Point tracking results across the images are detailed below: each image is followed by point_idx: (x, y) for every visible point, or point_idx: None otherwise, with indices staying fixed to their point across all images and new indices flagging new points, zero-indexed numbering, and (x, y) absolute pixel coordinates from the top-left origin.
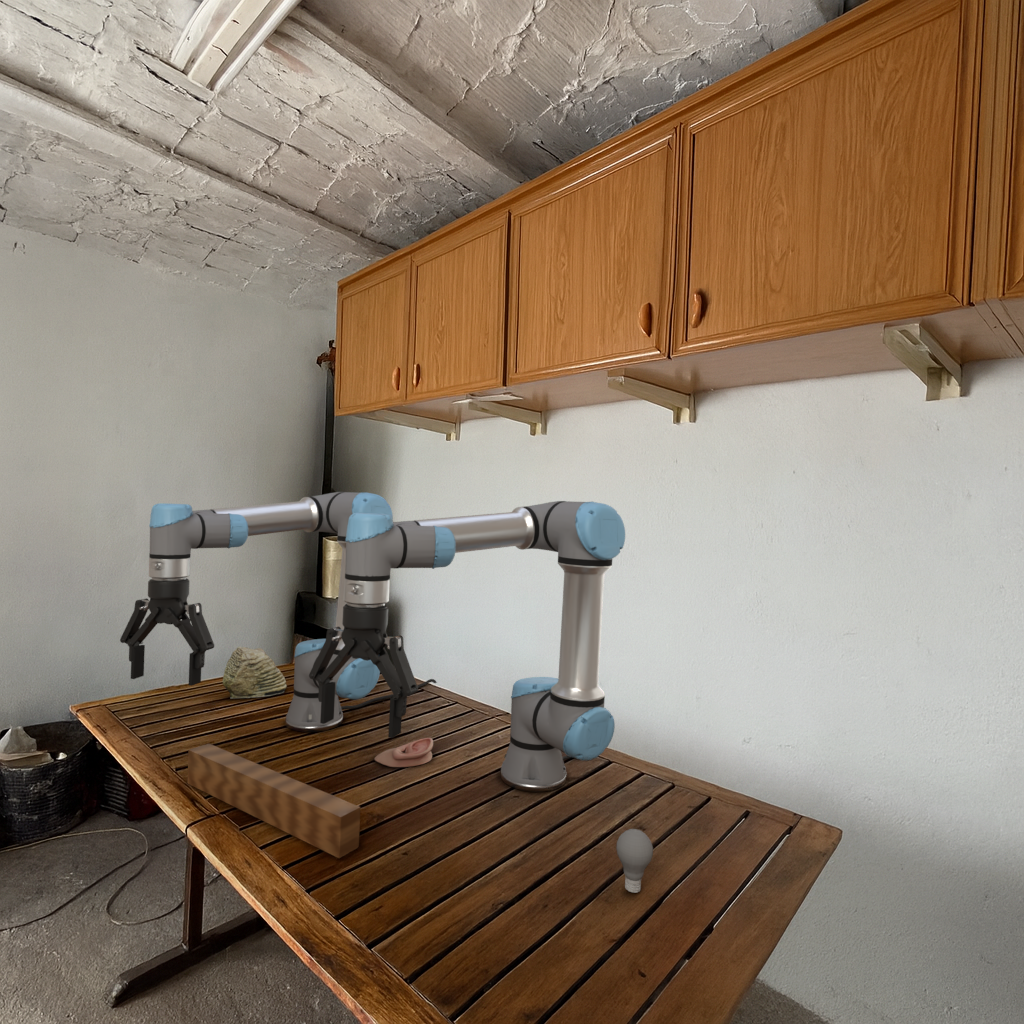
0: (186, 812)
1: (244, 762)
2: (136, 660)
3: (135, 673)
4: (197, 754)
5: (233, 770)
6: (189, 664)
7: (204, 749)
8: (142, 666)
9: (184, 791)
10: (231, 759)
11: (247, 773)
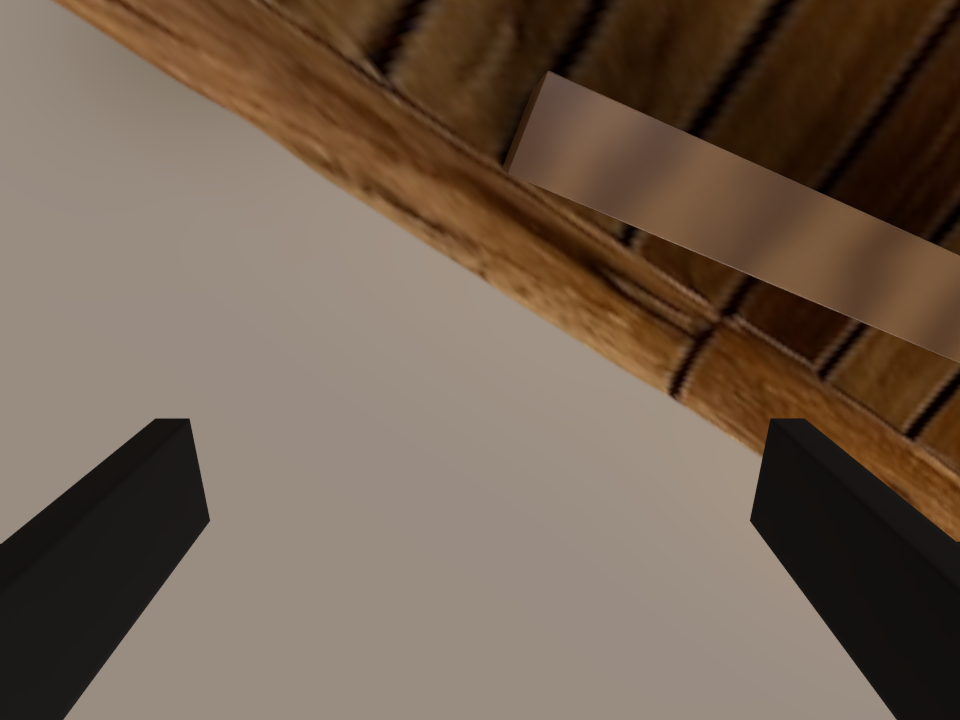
0: (623, 338)
1: (815, 222)
2: (104, 628)
3: (184, 534)
4: (572, 200)
5: (798, 295)
6: (872, 682)
7: (572, 146)
8: (139, 487)
9: (530, 223)
10: (746, 210)
11: (867, 309)
